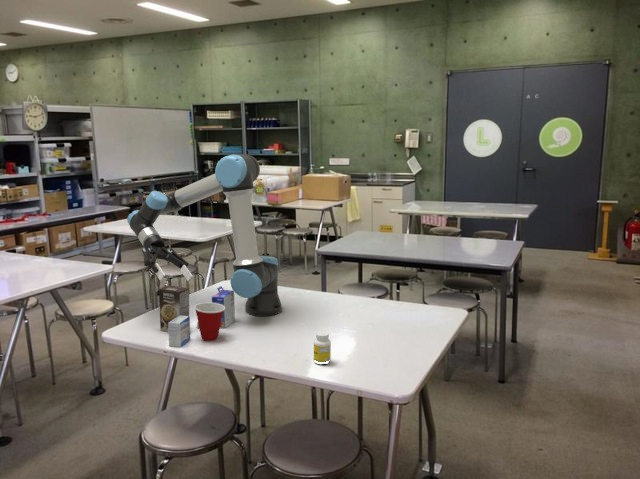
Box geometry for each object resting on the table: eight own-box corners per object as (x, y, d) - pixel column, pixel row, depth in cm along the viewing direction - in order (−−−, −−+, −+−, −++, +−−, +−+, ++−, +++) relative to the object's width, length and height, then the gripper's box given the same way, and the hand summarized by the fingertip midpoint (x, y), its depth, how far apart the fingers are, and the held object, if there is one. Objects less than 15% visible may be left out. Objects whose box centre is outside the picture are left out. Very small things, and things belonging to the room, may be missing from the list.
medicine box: (180, 347, 179) (179, 323, 178) (168, 346, 180) (167, 322, 179) (190, 339, 187) (190, 316, 185) (179, 338, 188) (178, 314, 186)
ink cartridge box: (222, 318, 209) (221, 283, 206) (235, 320, 208) (235, 284, 205) (211, 327, 199) (211, 290, 197) (225, 328, 198) (224, 291, 195)
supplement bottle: (313, 358, 172) (313, 330, 171) (329, 358, 173) (330, 330, 171) (314, 365, 167) (314, 336, 165) (331, 365, 168) (331, 336, 166)
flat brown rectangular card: (210, 322, 205) (210, 321, 205) (210, 328, 198) (210, 327, 198) (197, 322, 204) (197, 321, 204) (197, 329, 197) (197, 328, 197)
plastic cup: (225, 343, 184) (225, 310, 182) (193, 344, 182) (193, 311, 180) (225, 332, 194) (225, 301, 192) (195, 333, 193) (195, 301, 190)
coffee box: (159, 331, 194) (157, 288, 191) (170, 325, 200) (169, 284, 197) (180, 334, 191) (178, 291, 188) (190, 329, 197) (189, 287, 194)
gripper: (171, 250, 220) (196, 286, 210) (120, 245, 199) (145, 284, 190) (180, 237, 218) (206, 272, 208) (129, 230, 197) (155, 269, 187)
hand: (177, 278), depth 199 cm, fingers open, 13 cm apart
